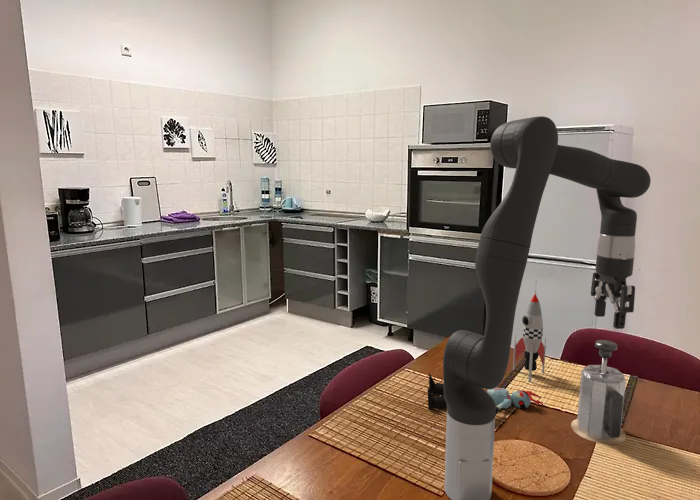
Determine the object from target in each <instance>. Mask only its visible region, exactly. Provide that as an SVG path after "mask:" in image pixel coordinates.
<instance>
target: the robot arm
mask: <svg viewBox="0 0 700 500" xmlns="http://www.w3.org/2000/svg"><path fill="white" fill-rule="evenodd" d="M558 132H559V131H558V128H557V125H556V124H555V122H554V121H553V120H552V119H551V118H549V117H547V116H531V117H525V118H520V119H516V120H515V119H514V120H511V121H508V122H505V123H503V124H501V125H499V126H498V127H497V128H496V129H495V130H494V132H493V133H492V135H491V139H490V151H491V154H492V155H491V156H492V157H493V159H494V160H495V161H496V163H498V164H499V165H500V166H502V167H505V168H508V169H515V171H514V176H513V178H512V182H511V185H510V187H509V189H508V191H507V193H506V195H505V196H504V198H503V199H502V201H501V202H500V203H499V205H498V206H497V207H496V208H495V210H494V211H493V213H491V215H490V217H489V218H488V219H487V221H486V223H485V224H484V226H483V228H482V230H481V234H480V238H479V242H478V246H477V250H476V255H475V260H474V262H475V263H474V264H475V265H474V266H475V267H474V268H475V272H476V276H477V280H478V284H479V286H480V289H481V292H482V296H483V300H484V304H485V310H486V311H485V312H486V316H485V317H486V319H485V327H484V332H483V335H482V334H479V333H477V332H473V331H470V330H465V329H460V330H456V331H455V332H453V333H452V334H451V335H450V337H449V338H448V339H447V341H446V344H445V348H444V351H443V357H442V360H443V361H442V372H443V374H442V375H443V378H442V379H443V384H444V398H445V401H446V403H447V408H446V428H445V456H444V457H445V458H444V492H445V495H446V496H447V498H449V499H450V500H491V498H492V491H493V490H492V489H493V470H494V469H493V468H494V467H493V466H494V448H495V429H496V427H495V426H496V416H497V415H496V405H495V401H494V400H493V398H492V397H491V396H490V395H489V394H488V393H487V392H486V391H485V390H484V389H488V390H491V389H494V388H498V386H500V384H501V382H502V381H503V379H504V378H505V374H506V372H507V368H508V364H509V361H510V353H511V345H512V341H513V340H512V338H513V332H514V331H513V330H514V323H515V318H516V317H515V316H516V310H517V306H518V305H517V304H518V301H519V296H520V291H521V286H522V283H523V278H524V274H525V270H526V267H527V263H528V258H529V254H530V250H531V249H530V248H531V243H532V238H533V233H534V229H535V225H536V221H537V217H538V213H539V209H540V204H541V202H542V198H543V194H544V191H545V189H546V186H547V182H548V180H549V177H550V175H552V176H556V177H559V178H561V179H566V180H568V181H571V182H573V183H577V184H579V185H581V186H584V187H587V188H591V189H596V195H597V199H598V205H599V209H600V214H601V215H600V216H601V220H600V227H599V228H600V229H599V237H598V242H597V248H596V249H597V250H596V260H595V261H596V262H595V272H593V273H592V281H591V287H590V296H591V297H593V300H594V301H595V305H594V316H595V317H600V318H601V317H605V316H606V307H607V299H609V302H610V303H611V304H612V305H613V308H614V315H613V316H614V317H613V323H612V324H613V328H614V329H616V330H619V329H621V330H622V329H625V326H626V318H627V313H629V314H630V313H634V311H635V297H636V295H635V294H636V287H635V285H628V283H627V278H629V277H631V276H633V272H634V263H635V262H634V261H635V255H636V254H635V251H636V230H637V220H638V214H637V212H636V211H635V210H634V209H632V208H629V207H626V206H625V205H624V204H623V203H622V200H621V198H627V199H633V198H634V199H635V198H639V197H641V196H643V195H644V194H645V193H647V192H648V190H649V189H650V186H651V176H650V173H649V172H648V170H647V169H646V168H645V167H644V166H642V165H639V164H638V163H633V162H628V161H623V160H618V159H613V158H610V157H607V156H605V155H603V154H601V153H598V152H596V151H593V150H590V149H585V148H581V147H577V146H576V147H575V146H568V145H562V144H559V133H558ZM483 388H484V389H483ZM495 415H496V416H495Z"/></svg>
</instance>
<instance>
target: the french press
mask: <svg viewBox="0 0 700 500" xmlns="http://www.w3.org/2000/svg"><path fill="white" fill-rule="evenodd" d="M601 368H602V364H588V365H587V366H586V367H585V368H583V369H581V372H580V385H579V394H578V395H579V397H578V406H577V418H576V419H577V427H578V430H579V431H580V432H582V433H583V434H585V435H586V436H588V437H591V438H594V439H597V440H602V441H614V440H616V439H617V438H618V437H620V431H621V429H622V421H623V411H624V410H623V409H624V404H625V403H624V401H625V394H626V393H625V392H626V382H627V380H626V378H625V376H624V373H622V372H621V371H620V370H618V368H614V367H610V366H606V374H602V373H601Z"/></svg>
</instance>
